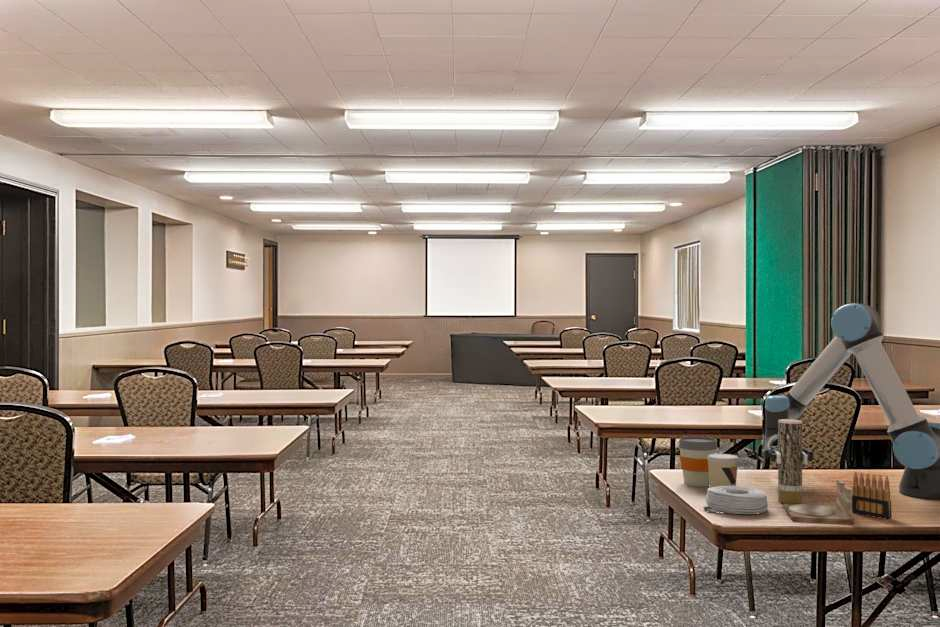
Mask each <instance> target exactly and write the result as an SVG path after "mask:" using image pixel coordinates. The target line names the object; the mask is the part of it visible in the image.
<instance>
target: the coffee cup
mask: <svg viewBox="0 0 940 627" xmlns="http://www.w3.org/2000/svg"><path fill="white" fill-rule="evenodd" d="M707 459H708V470H709V484H710V486H709V488H711V487H718V486H737V477H738V476H737V475H738V461H739V459H738V456H737V455H734V454H729V453H716V454H710V455H709V456H708V458H707Z"/></svg>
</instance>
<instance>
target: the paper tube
mask: <svg viewBox="0 0 940 627" xmlns="http://www.w3.org/2000/svg"><path fill="white" fill-rule="evenodd" d="M802 448H803V421H802V420H800V419H795V420H793V419H780V420H779V421H778V452H779V453H780V454H781V464H778V463H777V464H778V465H777V473H778V474H777V478H778V479H777V480H778V481H777V482H778V483H777V491H778V492H777V494H778V497H777V498H778V502H779V503H781V504H782V505H783V504H803V462H802Z"/></svg>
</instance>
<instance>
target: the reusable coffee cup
mask: <svg viewBox="0 0 940 627" xmlns="http://www.w3.org/2000/svg"><path fill="white" fill-rule="evenodd" d="M678 448H679V451H680V452H679V453H680V454H679V463H680V468H681V470H682V474H683V475H682V476H683V477H682V478H683V483H684V485H686V486H691V487H710V486H709V485H710V484H709V470H708V459H707V458H708V456H709V455H710V454H717V451H716V450H718V444H717V439H716V438H711V437H708V436H707V437H706V436H705V437H704V436H683V437H680V438H679V442H678Z"/></svg>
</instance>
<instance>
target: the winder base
mask: <svg viewBox="0 0 940 627" xmlns="http://www.w3.org/2000/svg"><path fill="white" fill-rule="evenodd" d="M852 495H853V488H851V487H850V486H849V485H846V483H845V482H844V481H843V480H842V479H836V505H823V504H821V505H818V504H809V503H801V504H783V503H782V508H783V510H784V509H785V510H784V511H785V513H786V515H787V516H788V517H790V518H789V519H790V521H791V520H792V521H791V522H801V521H811V522H810V523H821V522H825V523H824V524H840V523H849V524H848V525H854V524H855V519H854V518H853V513H852Z"/></svg>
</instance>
